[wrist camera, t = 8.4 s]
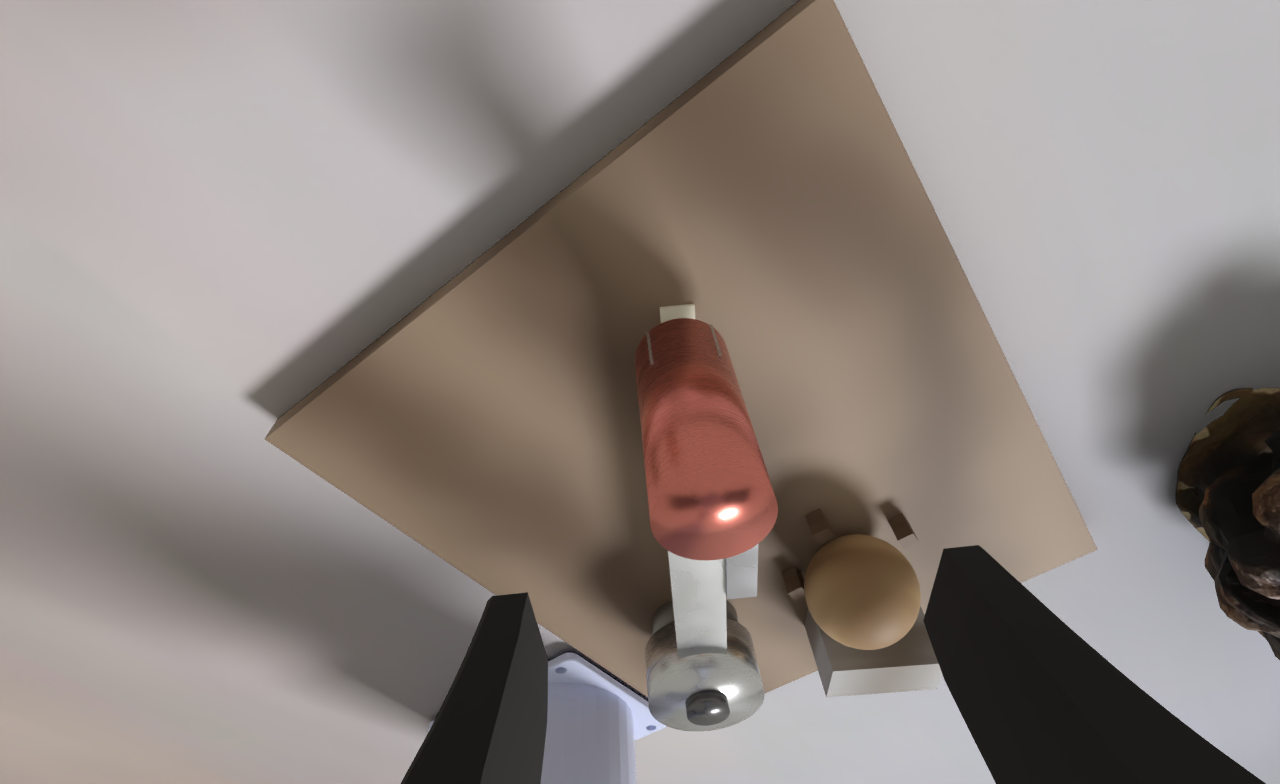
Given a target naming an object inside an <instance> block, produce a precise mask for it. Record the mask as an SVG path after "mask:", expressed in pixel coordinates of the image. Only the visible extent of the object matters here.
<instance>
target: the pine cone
mask: <svg viewBox="0 0 1280 784" xmlns="http://www.w3.org/2000/svg"><path fill="white" fill-rule="evenodd" d="M1240 397H1241V398H1240ZM1235 398H1240V399H1239V400H1238V401H1237V402H1235V403H1234V404H1233V405H1232V406H1231V407H1230V408H1229V409H1228V410H1227V411H1226V412H1225V413H1224V415H1223V416H1221V417H1220V418H1218V419H1216V420H1214V421H1213V422H1211V423H1210V424H1209V425H1207V426H1206V427H1205V428H1204V429H1203V430H1201V431H1200V432H1199V433H1198V434H1197V435H1194V437H1193V439H1192V442H1191V444H1190V446H1189V449H1188V451H1187V453H1186V455H1185V457H1184V459H1183V461H1182V462H1181V464H1180V468H1179V472H1178V482H1177V494H1176V504H1177V505H1178V507H1179V508H1180V510H1181V512H1182V513H1183V514H1184V516H1185V517H1186V518H1187V519H1188V520H1189V521H1190V523H1191V524H1192V525H1193V526H1194V527H1195V528H1196V529H1197V530H1198V531H1199V532H1200V533H1201V534H1202V535H1203V536H1204V537H1205V538H1206V539H1207V540H1209V541H1210V544H1209V547H1208V551H1207V554H1206V558H1205V567H1206V569H1207V570H1208V572H1209V574H1210V575H1211V577H1212V578H1213V579H1214V581H1215V589H1216V593H1217V597H1218V601H1219V605H1220V608H1221V609H1222V610H1223V611H1224V613H1225V614H1226V615H1227V617H1229V618H1230V619H1232V620H1233V621H1235V622H1236V623H1238V624H1239V625H1241V626H1242V627H1244V628H1246V629H1247V630H1255V631H1258V632H1259V633H1260V634H1261V635H1262V636H1263V637H1265V638H1266V640H1267V641H1268V642H1269V644H1270V646H1271V648H1272V650H1273V652H1274V654H1275V656H1276V657H1277V658H1278V659H1279V660H1280V389H1279V388H1260V389H1256V390H1254V391H1253V389H1252V388H1248V389H1237V390H1234V391H1231V392H1228V393H1225V394H1224V395H1223V396H1222V397H1220V398H1219V399H1218V400H1216V401H1215V403H1214V404H1213V405H1212V407H1211V408H1210V409H1209V410H1208V412H1210V411H1211V410H1212V409H1214V408H1215V407H1217V406H1218V405H1219V404H1221V403H1222V402H1224V401H1226V400H1230V399H1235ZM1208 412H1207V413H1208ZM1207 413H1206V414H1207ZM1195 434H1196V433H1195Z"/></svg>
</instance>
